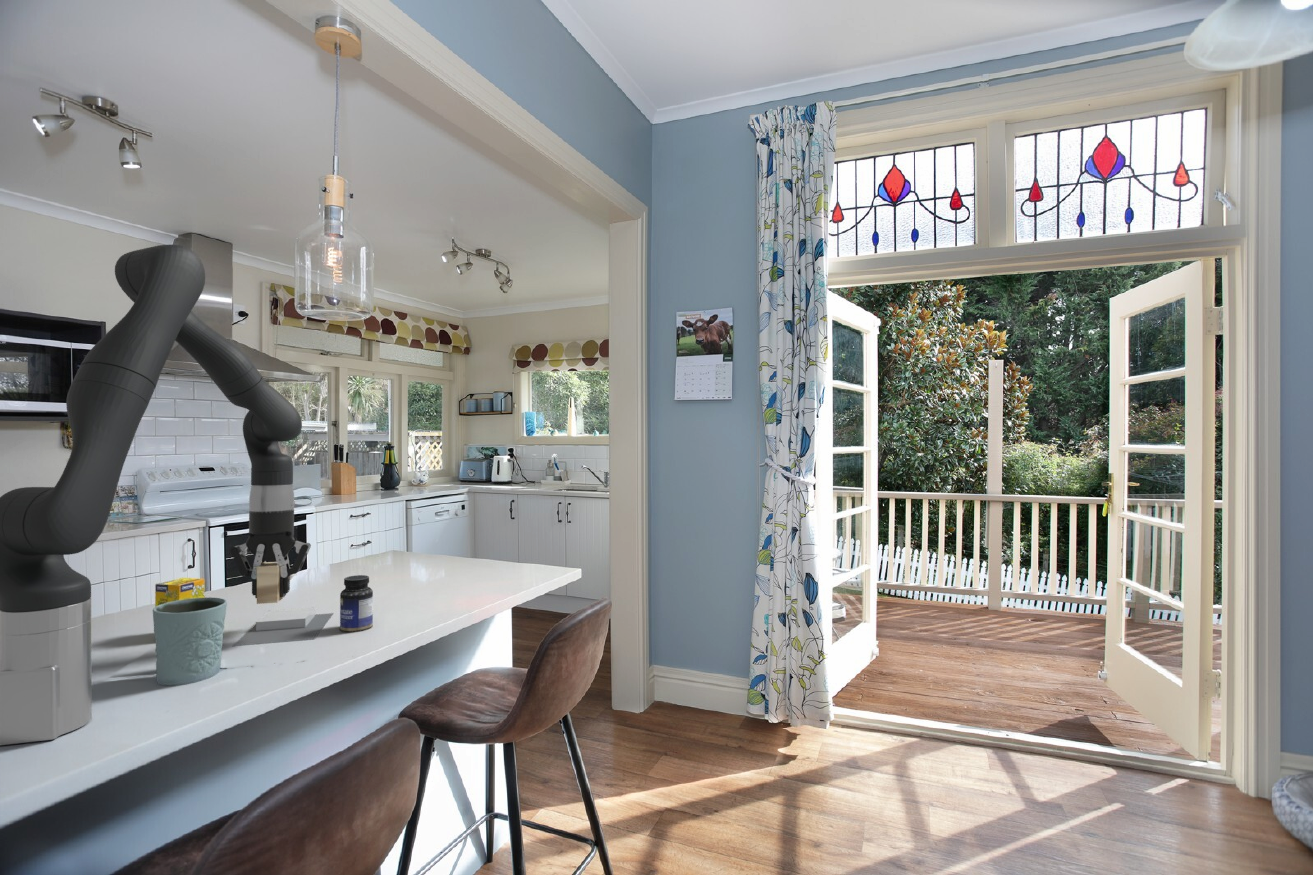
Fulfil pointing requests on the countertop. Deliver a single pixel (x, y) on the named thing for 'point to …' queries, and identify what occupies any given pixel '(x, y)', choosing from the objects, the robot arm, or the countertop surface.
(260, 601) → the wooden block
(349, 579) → the pill bottle
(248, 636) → the mat
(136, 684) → the countertop surface
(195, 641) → the green embossed planter
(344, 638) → the countertop surface
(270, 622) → the tile
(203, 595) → the supplement box
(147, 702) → the countertop surface
